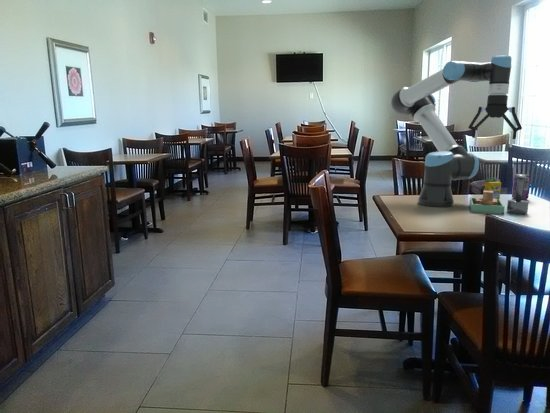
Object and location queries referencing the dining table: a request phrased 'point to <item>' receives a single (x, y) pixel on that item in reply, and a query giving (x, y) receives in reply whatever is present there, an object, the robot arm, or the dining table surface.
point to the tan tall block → (486, 199)
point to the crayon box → (493, 187)
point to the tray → (487, 207)
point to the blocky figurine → (518, 200)
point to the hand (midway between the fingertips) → (492, 146)
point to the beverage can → (525, 186)
